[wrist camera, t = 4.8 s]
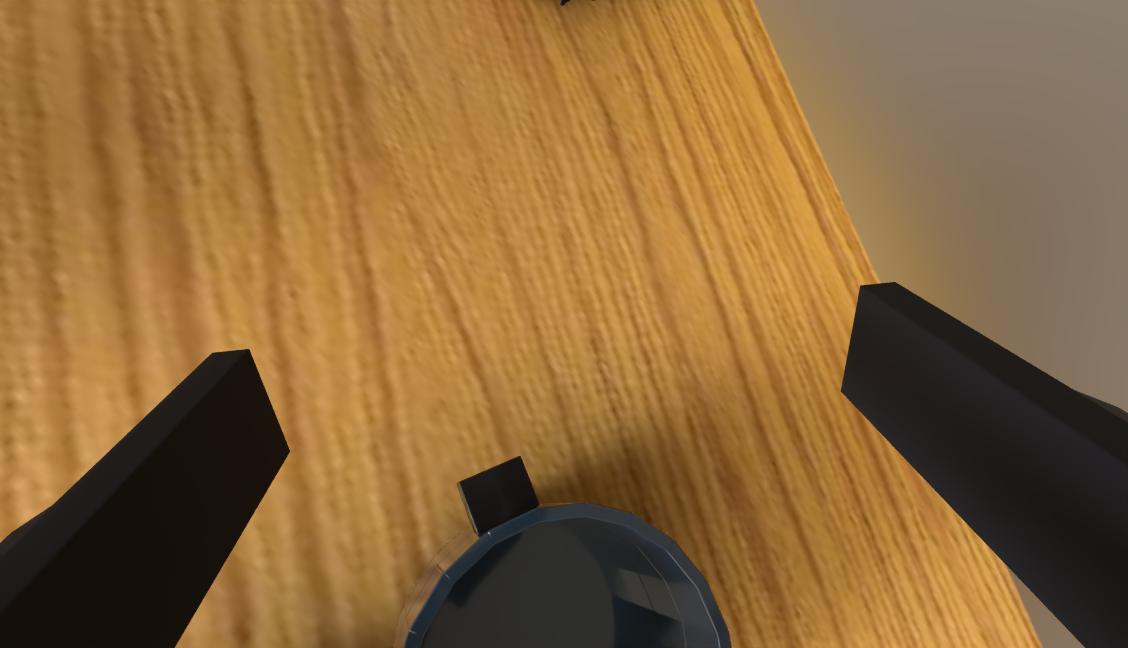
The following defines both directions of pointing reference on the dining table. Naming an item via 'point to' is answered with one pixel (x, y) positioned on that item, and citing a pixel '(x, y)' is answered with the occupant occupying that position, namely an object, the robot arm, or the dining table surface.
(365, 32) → the dining table surface
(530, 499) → the pot handles
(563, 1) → the fish
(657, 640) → the pot
